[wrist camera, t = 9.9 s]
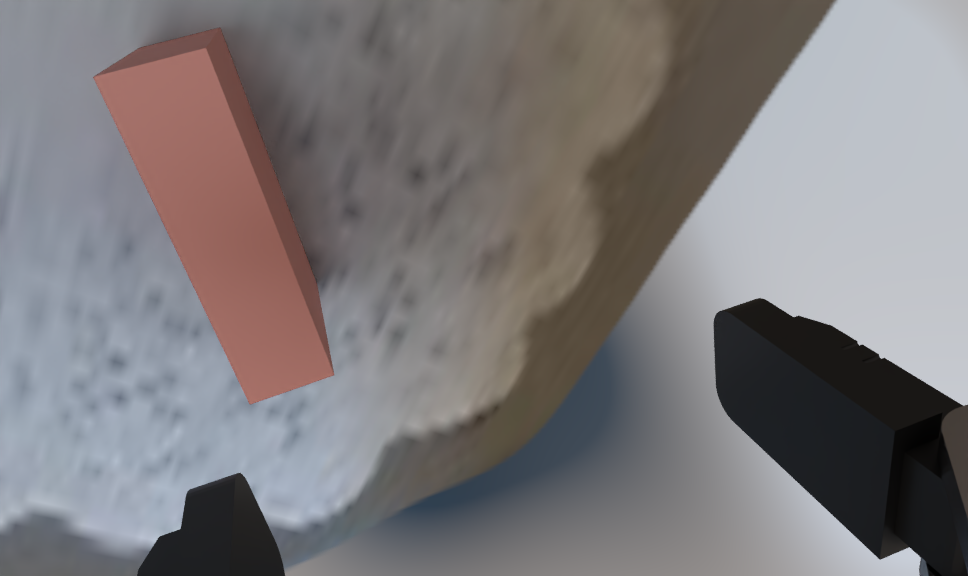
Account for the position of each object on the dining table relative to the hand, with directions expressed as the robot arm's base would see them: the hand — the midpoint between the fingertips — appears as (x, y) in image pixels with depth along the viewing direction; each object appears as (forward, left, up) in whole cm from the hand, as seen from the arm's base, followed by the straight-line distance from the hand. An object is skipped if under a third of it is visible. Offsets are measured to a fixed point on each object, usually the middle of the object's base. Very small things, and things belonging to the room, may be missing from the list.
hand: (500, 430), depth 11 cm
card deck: (-2, -4, -15) cm, 15 cm away
